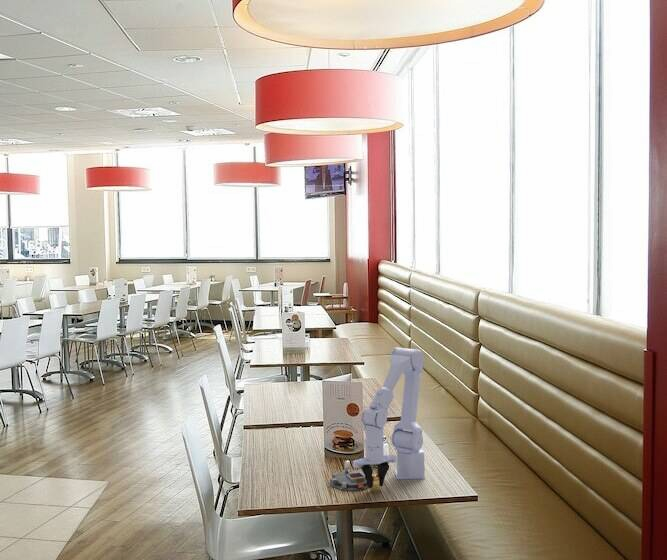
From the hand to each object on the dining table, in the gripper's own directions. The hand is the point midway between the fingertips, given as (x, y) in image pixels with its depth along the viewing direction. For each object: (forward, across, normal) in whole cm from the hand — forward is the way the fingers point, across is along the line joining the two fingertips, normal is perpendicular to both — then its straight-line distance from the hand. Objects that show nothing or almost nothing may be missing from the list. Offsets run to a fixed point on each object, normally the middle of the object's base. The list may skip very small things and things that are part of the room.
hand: (375, 486), depth 235 cm
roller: (+1, 0, 0) cm, 1 cm away
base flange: (+1, +4, -10) cm, 11 cm away
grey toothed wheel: (+1, +4, -10) cm, 11 cm away
